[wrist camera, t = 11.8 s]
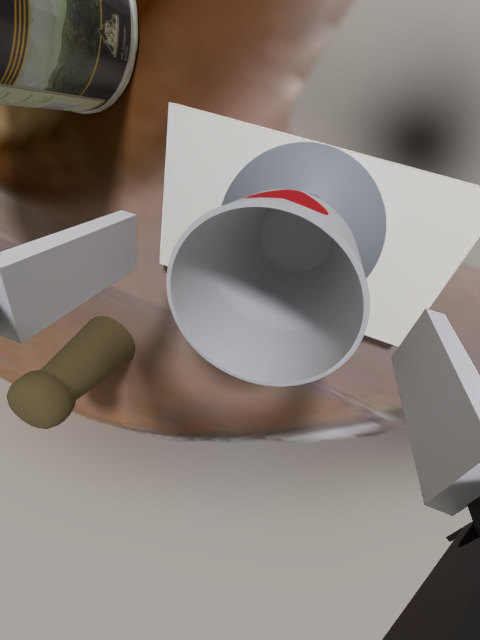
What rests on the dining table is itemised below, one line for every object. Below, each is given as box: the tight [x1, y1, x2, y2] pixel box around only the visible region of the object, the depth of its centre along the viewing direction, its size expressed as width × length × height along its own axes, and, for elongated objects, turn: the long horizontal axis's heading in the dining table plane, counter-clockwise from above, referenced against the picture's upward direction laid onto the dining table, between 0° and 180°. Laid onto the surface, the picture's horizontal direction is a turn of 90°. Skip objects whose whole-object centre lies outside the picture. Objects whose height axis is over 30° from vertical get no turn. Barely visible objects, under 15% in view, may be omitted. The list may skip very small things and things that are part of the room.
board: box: [159, 102, 480, 347], centre depth 20 cm, size 20×11×2 cm, turn 77°
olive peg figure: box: [7, 316, 135, 429], centre depth 29 cm, size 6×6×11 cm
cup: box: [166, 189, 370, 386], centre depth 16 cm, size 8×8×10 cm
